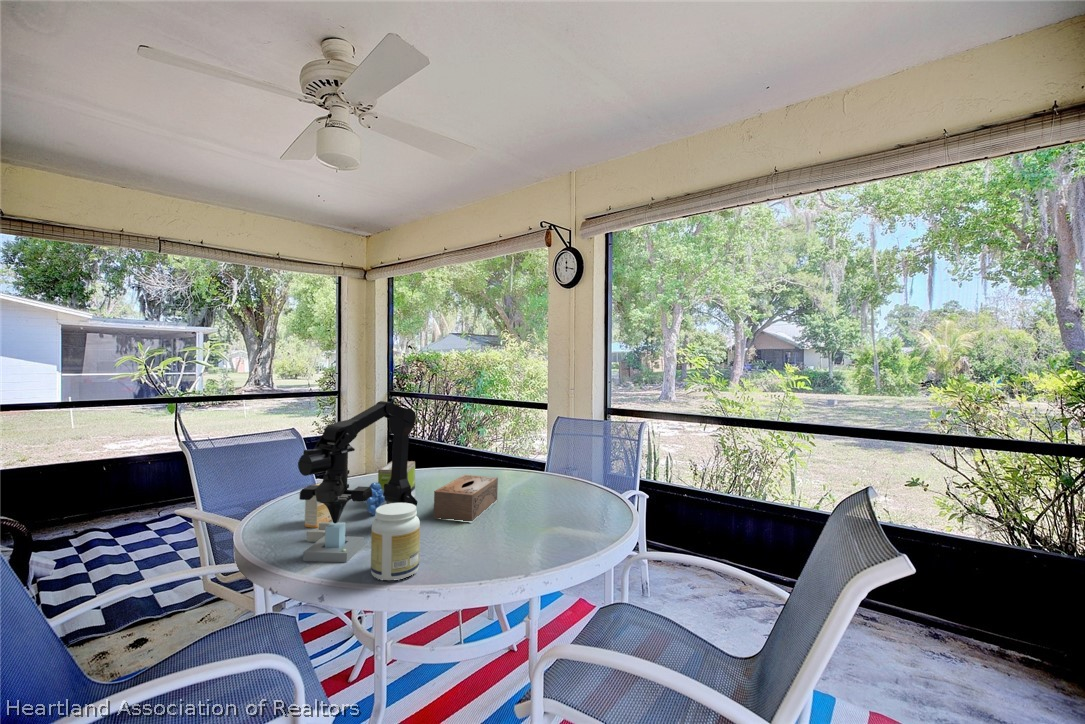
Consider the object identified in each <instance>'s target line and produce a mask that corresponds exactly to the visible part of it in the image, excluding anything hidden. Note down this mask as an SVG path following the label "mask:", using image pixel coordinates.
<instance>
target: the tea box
mask: <svg viewBox="0 0 1085 724" xmlns="http://www.w3.org/2000/svg"><path fill="white" fill-rule="evenodd" d="M391 472H392V460H391V461H390V462H388V463H386V464H385V465H383V466H382V467H380V468H378V471H377V473H378V475H377V479H378V480H377V483H379V484H380V485H381V489H382V490H383V492H384V484H385V483H388V482H389V480H390V479H391ZM407 479H408V482H409V484H410V486H411V495H412V496H413V497H414V498H416V461H415V460H414V461H413V460H411V461H409V460H408V462H407ZM382 495H383V494H382ZM385 504H387V502H386V501H385V502H384V503H381V505H380V506H382V505H385Z"/></svg>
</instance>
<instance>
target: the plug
mask: <svg viewBox="0 0 1085 724" xmlns="http://www.w3.org/2000/svg"><path fill="white" fill-rule="evenodd" d="M345 536H346V532H345V523H331V524H329V525H328V526H327V527H325V548H341V547H342V546H343V545H344V544H345Z"/></svg>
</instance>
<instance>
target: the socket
mask: <svg viewBox="0 0 1085 724" xmlns="http://www.w3.org/2000/svg"><path fill="white" fill-rule="evenodd" d="M364 546H365V537H364V536H350V535H349V536H348V535H347V536H346V535H345V544H344V545H343V546H342V547H341V548H325V536H323V537H322V538H321V539H319V540H318V541H317V542H314V543H313V544H312V545H310V546H309V547H307V549H305V550H304V551H303V554H302V555H303V557H302V558H303V559H302V560H303V562H320V563H321V562H323V563H348V562H349V561H350V560H349V559H350V558H351V557H352V556H353V557H354V556H355V555H356V554H357V553H358V552H359V551H360V550H361V549H362V548H363V547H364ZM353 557H352V558H353ZM352 558H351V559H352ZM348 560H349V561H348ZM347 561H348V562H347Z"/></svg>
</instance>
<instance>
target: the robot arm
mask: <svg viewBox="0 0 1085 724" xmlns="http://www.w3.org/2000/svg"><path fill="white" fill-rule="evenodd" d="M382 418H386V419H388V423H389V428H390V430H391V432H392V435H393V438H392V439H393V441H392V454H391V455H392V457H391V458H392V459H391V461H392V472H391V479H390V480H389V482H388V483H385V484H384V493H383V496H384V499H385V501H386V502H387V504H390V503H410V504H414V505H415V506H416V507H417V506H418V500H417V499H416V497H413V496H412V495H411V486H410V484H409V482H408V479H407V462H408V461H409V460H408V458H409V443H410V442H409V441H410V434H411V432H412V431H413V429H414V427H415V423H416V418H417V415H416V412H415V411H414V409H413V408H408V407H403V406H400V405H397V404H395V403H392V402H391V401H384V400H380V401H378V402H376V404H374V405H372V406H370V407H368V408H367V409H365V410H364V411H361V412H360V413H358V414H356V415H354V416H353V417H351V418H349V419H346V420H340V421H336V422H333V423H331V424H328V425H327V426H325V428H324V431H323V433H322V434H321V436H320V438H319V439H318V441H317V443H316V444H315V446H314V447H313V449H304V450H303V452H302V453H303V454H302V455H301V456H300V457H299V460H298V461H297V467H298V470H299V473H300V474H301V475H302V476H305V477H306V476H312V475H316V474H320V473H324V472H325V473H324V474H323V476H322V477H323V478H322V481H321V482H322V483H321V482H320V483H321V484H320V485H315V484H310V485H308V486H305V487H304V488H302V489H300V492H299V500H301V501H305V500H310V499H311V498H312V497H313V496H316V500H317V502H320V503H323V504H325V505H326V506H327V508H328V510H329V513H330V515H331V518H332V520H331V521H332V522H333V523H338V522H340V518H341V516H342V513H343V511H344V509H345V507H346V505H347V503H348V502H350V501H353V502H362V503H363V502H365V501H366V500H367V499H368V498H370V497H371V496H372V489H371V488H370V487H369V486H360V485H359V486H357V487H355V488H354V489H349V488H350V484H349V483H348V475H349V474H350V470H349V469H348V467H349V466H348V465H349V453H350V452H354V451H355V450H356V449H355V448H354V447H353V446H352V445H351V444H350V443H352V442H353V441H354V440H355V439H356V438H357V436H358V434H359V433H360V432H361V431H362V430H364V429H366V428H368V427H369V426H371V425H372V424H374V423H376V422H378V421H380V420H381V419H382Z"/></svg>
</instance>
